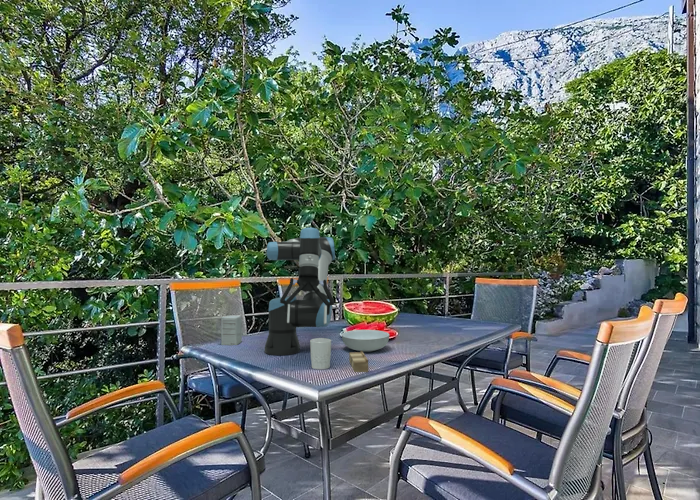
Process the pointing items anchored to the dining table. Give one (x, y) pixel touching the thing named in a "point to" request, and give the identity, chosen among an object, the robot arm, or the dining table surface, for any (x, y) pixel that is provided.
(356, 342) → the serving bowl
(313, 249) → the robot arm
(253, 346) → the dining table surface
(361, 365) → the brass metal channel
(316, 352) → the white cup
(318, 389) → the dining table surface
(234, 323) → the supplement box
